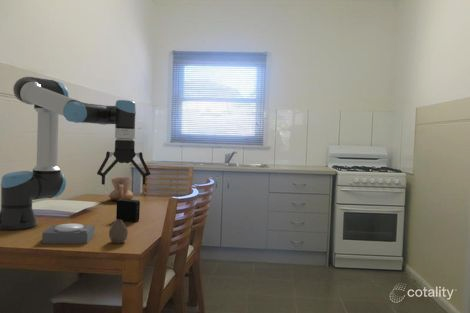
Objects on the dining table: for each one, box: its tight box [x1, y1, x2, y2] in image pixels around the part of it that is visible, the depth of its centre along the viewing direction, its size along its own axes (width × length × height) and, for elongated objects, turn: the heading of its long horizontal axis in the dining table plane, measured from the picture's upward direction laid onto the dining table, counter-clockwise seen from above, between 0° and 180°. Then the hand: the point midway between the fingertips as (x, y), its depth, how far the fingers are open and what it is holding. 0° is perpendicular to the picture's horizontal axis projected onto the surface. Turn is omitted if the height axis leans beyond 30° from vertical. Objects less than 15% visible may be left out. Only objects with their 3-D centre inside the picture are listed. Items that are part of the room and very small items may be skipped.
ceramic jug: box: [108, 176, 134, 202], centre depth 237 cm, size 18×14×14 cm
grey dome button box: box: [41, 223, 95, 245], centre depth 148 cm, size 16×12×5 cm
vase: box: [108, 219, 129, 244], centre depth 147 cm, size 7×7×9 cm
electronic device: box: [115, 199, 141, 223], centre depth 184 cm, size 4×10×10 cm, turn 78°
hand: (123, 192), depth 152 cm, fingers open, 13 cm apart
